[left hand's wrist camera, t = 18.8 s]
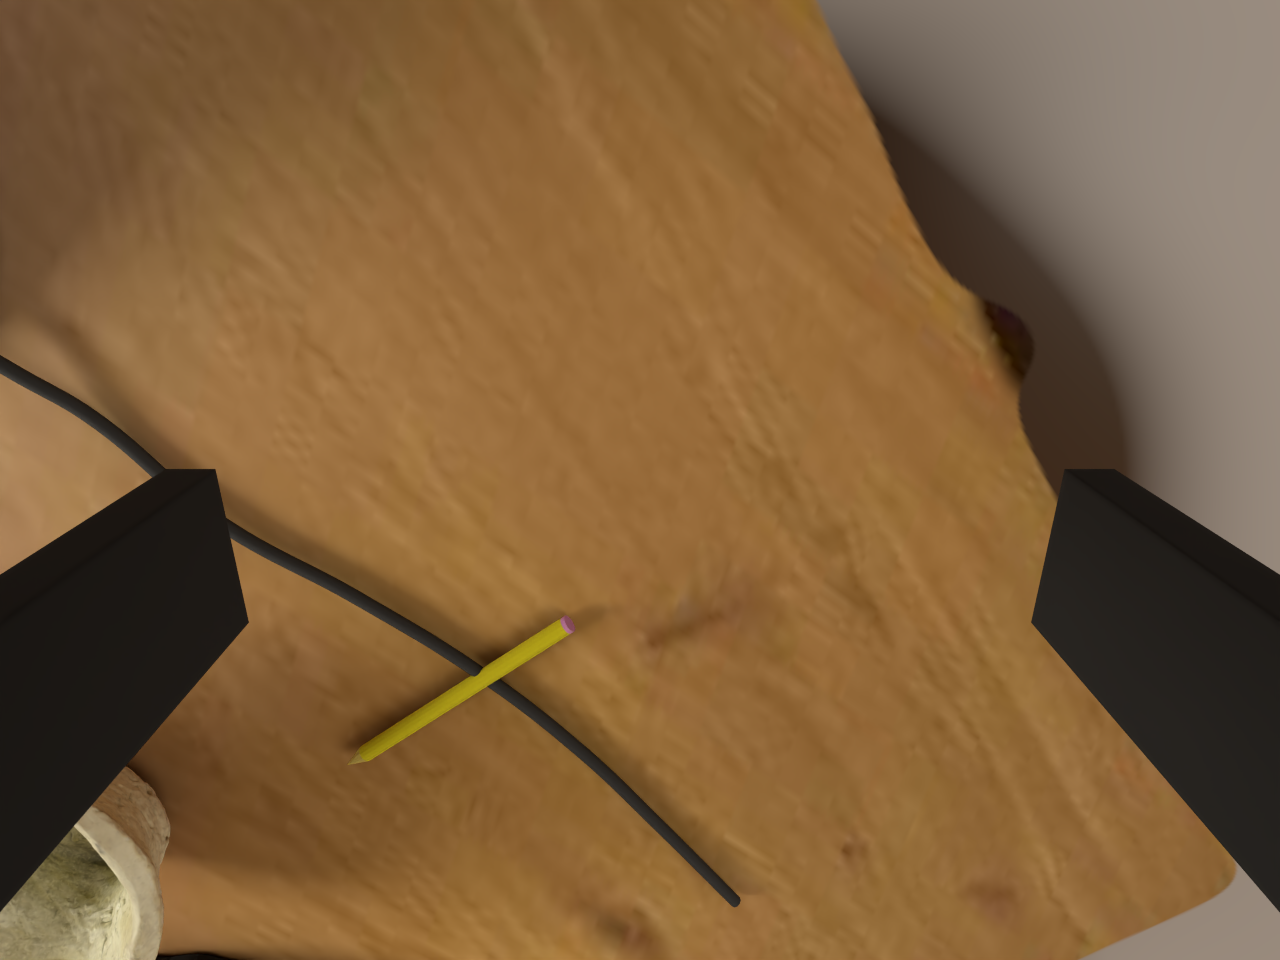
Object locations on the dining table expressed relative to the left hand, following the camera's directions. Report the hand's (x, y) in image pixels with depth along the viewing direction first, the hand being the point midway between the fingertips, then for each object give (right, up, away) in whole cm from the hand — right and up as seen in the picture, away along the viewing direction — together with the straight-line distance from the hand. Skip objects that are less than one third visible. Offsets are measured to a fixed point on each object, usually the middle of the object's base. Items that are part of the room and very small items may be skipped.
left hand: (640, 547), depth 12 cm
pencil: (-10, -11, +32) cm, 36 cm away
